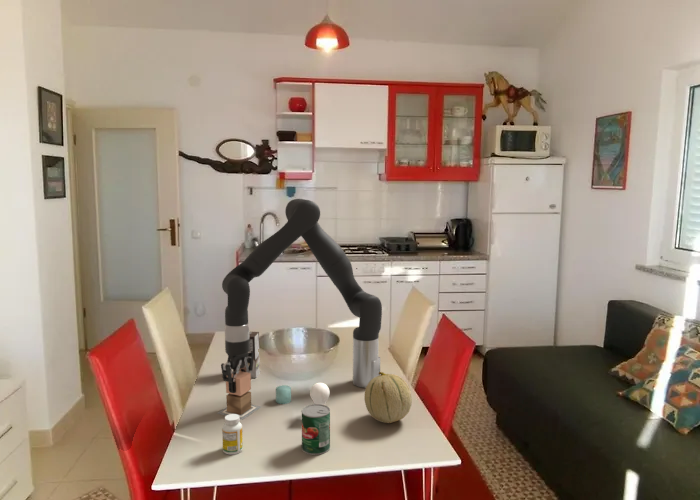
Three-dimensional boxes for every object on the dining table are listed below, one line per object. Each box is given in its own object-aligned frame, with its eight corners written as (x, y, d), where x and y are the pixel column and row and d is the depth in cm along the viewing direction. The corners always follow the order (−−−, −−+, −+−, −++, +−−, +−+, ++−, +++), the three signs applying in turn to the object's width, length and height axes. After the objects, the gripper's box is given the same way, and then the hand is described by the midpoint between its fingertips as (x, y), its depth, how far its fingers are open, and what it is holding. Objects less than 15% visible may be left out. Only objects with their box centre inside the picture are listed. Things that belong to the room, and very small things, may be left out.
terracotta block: (251, 389, 167) (250, 373, 167) (240, 395, 163) (239, 379, 162) (237, 386, 170) (236, 370, 169) (226, 392, 165) (225, 376, 164)
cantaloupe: (404, 435, 152) (405, 386, 150) (357, 426, 157) (357, 379, 155) (416, 413, 166) (417, 368, 164) (372, 406, 171) (372, 362, 169)
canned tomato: (296, 451, 143) (296, 413, 141) (308, 438, 150) (308, 402, 149) (323, 457, 140) (323, 418, 139) (334, 443, 147) (334, 406, 146)
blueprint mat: (261, 408, 169) (261, 406, 169) (242, 421, 160) (242, 419, 160) (236, 402, 174) (236, 400, 174) (216, 415, 165) (216, 412, 165)
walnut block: (251, 408, 168) (251, 391, 168) (241, 415, 163) (240, 398, 163) (237, 404, 171) (237, 388, 170) (226, 411, 166) (226, 395, 165)
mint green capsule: (293, 401, 175) (293, 386, 174) (285, 407, 171) (285, 392, 170) (281, 398, 177) (281, 384, 177) (273, 404, 173) (272, 389, 172)
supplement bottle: (230, 457, 140) (229, 423, 139) (218, 450, 143) (217, 417, 142) (246, 449, 144) (246, 416, 143) (234, 443, 147) (233, 410, 146)
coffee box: (260, 372, 201) (259, 331, 199) (256, 378, 195) (255, 336, 193) (237, 371, 202) (236, 330, 200) (232, 377, 196) (231, 335, 193)
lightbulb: (332, 414, 166) (332, 381, 164) (325, 422, 160) (325, 388, 158) (314, 411, 168) (314, 378, 166) (307, 419, 162) (306, 385, 160)
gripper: (232, 345, 156) (234, 399, 158) (260, 332, 169) (261, 382, 171) (212, 342, 159) (214, 395, 161) (241, 330, 172) (242, 379, 174)
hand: (238, 388), depth 166 cm, fingers closed on terracotta block, 5 cm apart
